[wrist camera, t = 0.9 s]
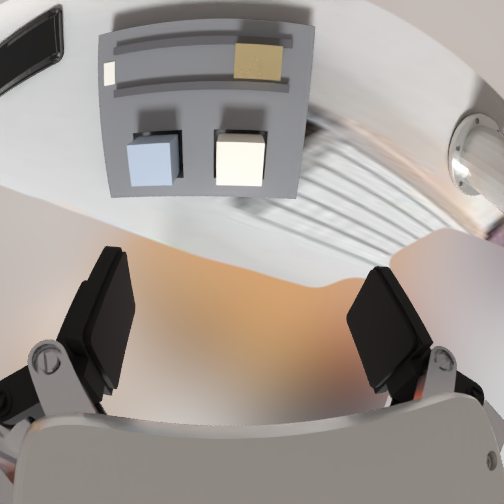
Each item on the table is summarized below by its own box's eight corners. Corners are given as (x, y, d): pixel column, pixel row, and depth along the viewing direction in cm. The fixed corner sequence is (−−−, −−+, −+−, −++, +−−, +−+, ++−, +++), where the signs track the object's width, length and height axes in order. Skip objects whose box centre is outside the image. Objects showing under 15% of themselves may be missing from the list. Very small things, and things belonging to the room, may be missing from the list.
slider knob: (277, 49, 19) (283, 46, 16) (275, 80, 21) (280, 80, 18) (236, 47, 19) (235, 43, 16) (234, 78, 20) (233, 78, 18)
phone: (61, 59, 18) (-13, 105, 18) (66, 59, 19) (-8, 103, 19) (58, 4, 13) (-17, 58, 14) (63, 5, 14) (-12, 57, 14)
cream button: (261, 134, 24) (264, 143, 22) (259, 172, 27) (261, 186, 24) (219, 133, 24) (216, 141, 21) (218, 171, 27) (216, 185, 24)
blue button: (178, 133, 24) (169, 142, 21) (179, 171, 26) (172, 185, 23) (139, 136, 24) (126, 145, 21) (142, 173, 26) (131, 186, 23)
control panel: (307, 30, 20) (317, 25, 17) (291, 187, 31) (297, 201, 28) (111, 37, 19) (95, 34, 16) (120, 186, 29) (108, 200, 26)
